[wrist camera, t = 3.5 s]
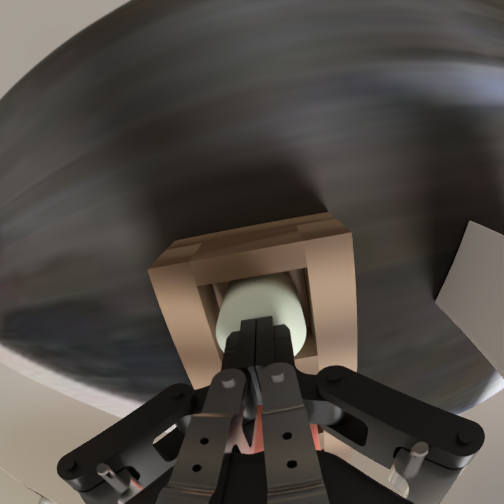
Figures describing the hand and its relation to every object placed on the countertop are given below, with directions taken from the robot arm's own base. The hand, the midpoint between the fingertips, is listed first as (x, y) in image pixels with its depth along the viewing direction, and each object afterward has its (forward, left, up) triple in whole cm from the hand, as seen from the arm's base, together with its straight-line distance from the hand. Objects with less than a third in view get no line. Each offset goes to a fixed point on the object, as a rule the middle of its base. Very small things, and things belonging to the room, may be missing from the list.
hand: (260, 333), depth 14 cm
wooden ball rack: (-5, +6, -6) cm, 10 cm away
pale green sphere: (0, 0, -3) cm, 4 cm away
